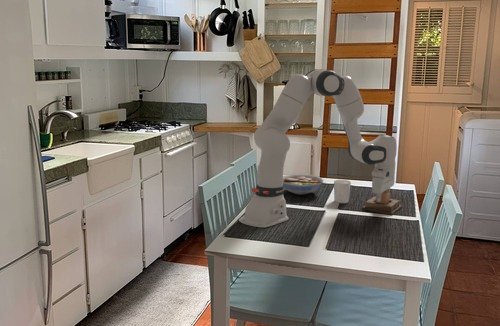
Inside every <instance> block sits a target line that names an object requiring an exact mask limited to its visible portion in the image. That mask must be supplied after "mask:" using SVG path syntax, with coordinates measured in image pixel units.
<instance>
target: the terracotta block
mask: <svg viewBox="0 0 500 326" xmlns="http://www.w3.org/2000/svg"><path fill="white" fill-rule="evenodd" d="M375 196H376V195H375ZM381 198H382V201H381V202H378V203H383V204H389V203H390V199H391V190H390V191H384V192H383V193H382V195H381ZM375 202H377V196H376V201H375Z"/></svg>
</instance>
